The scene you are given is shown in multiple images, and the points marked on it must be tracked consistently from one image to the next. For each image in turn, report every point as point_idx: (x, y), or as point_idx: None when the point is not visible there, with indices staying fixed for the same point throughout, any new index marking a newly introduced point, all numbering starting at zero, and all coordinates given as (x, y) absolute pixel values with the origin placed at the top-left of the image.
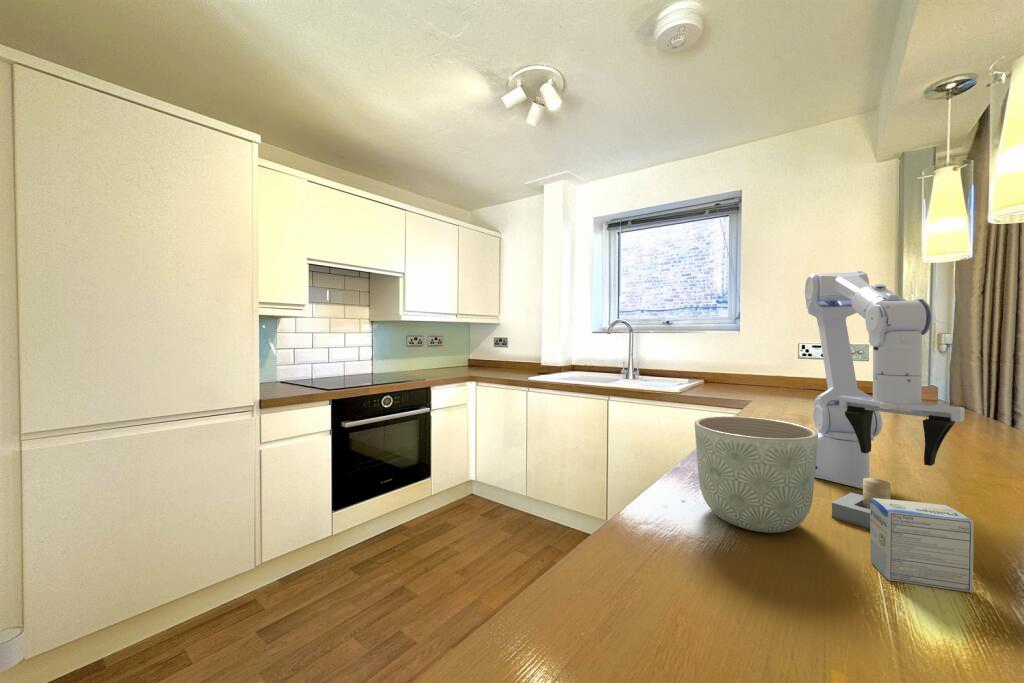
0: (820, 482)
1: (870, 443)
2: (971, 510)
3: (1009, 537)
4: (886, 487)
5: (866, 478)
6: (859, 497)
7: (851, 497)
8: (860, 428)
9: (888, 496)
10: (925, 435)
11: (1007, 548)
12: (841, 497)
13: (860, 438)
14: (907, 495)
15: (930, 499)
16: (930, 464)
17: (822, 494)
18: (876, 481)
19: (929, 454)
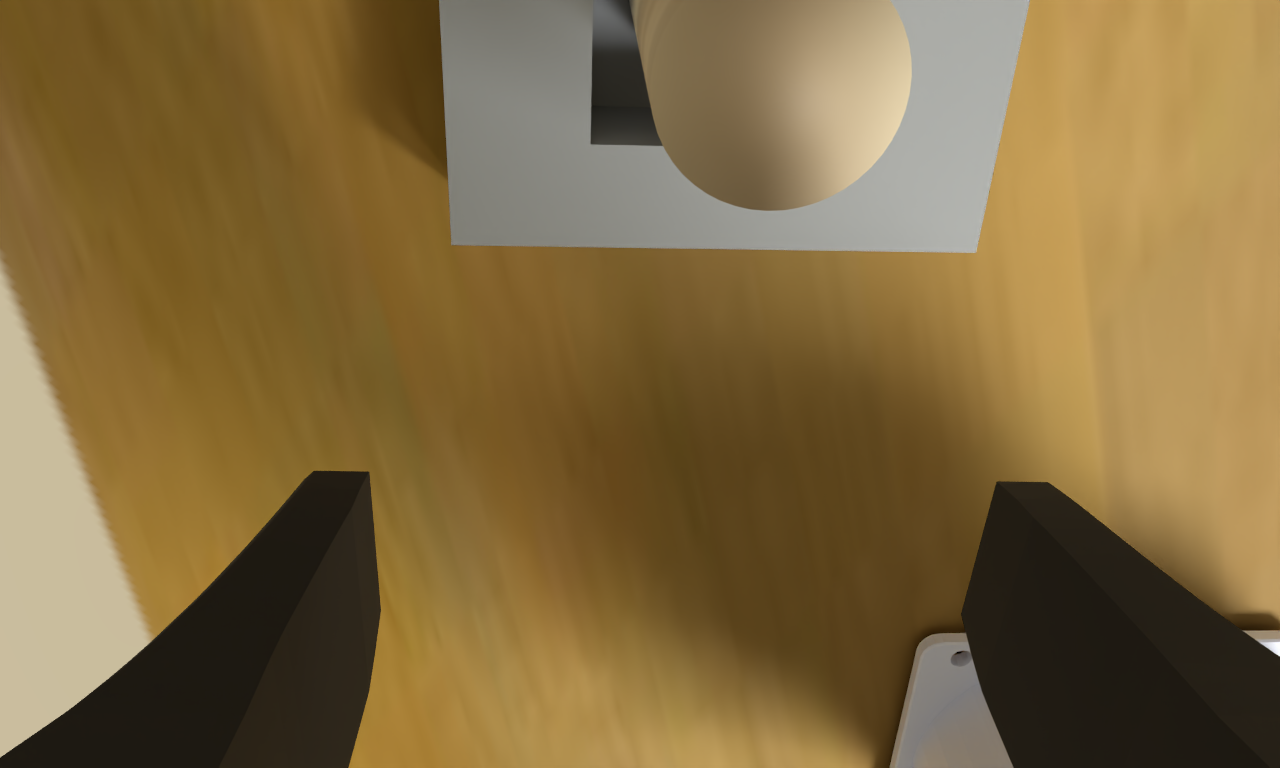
0: (1189, 566)
1: (1000, 701)
2: (382, 746)
3: (101, 450)
4: (667, 11)
5: (886, 125)
6: (897, 162)
7: (953, 95)
8: (1259, 719)
9: (647, 15)
10: (203, 753)
11: (22, 224)
12: (1027, 5)
13: (1158, 599)
14: (690, 735)
15: (580, 763)
16: (303, 483)
17: (1154, 300)
18: (782, 97)
19: (267, 550)
